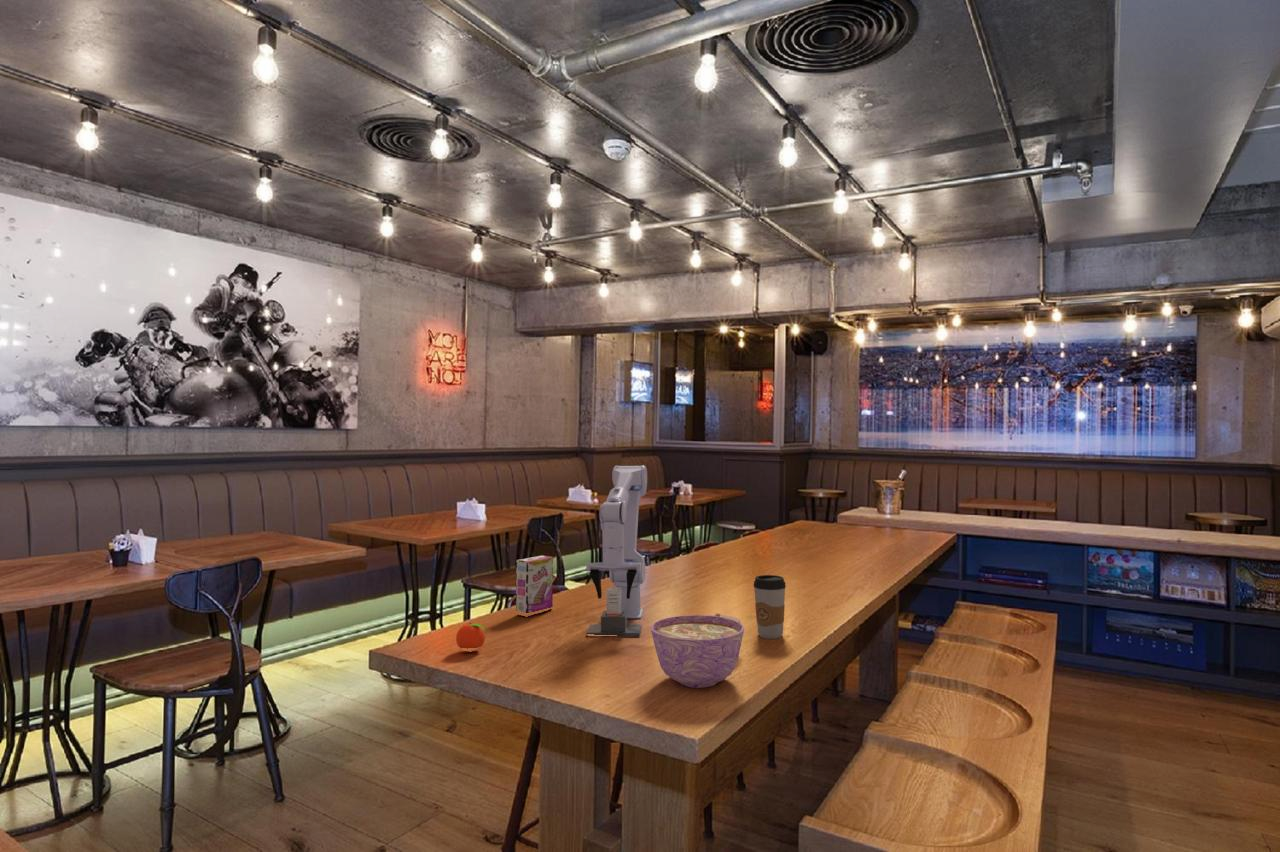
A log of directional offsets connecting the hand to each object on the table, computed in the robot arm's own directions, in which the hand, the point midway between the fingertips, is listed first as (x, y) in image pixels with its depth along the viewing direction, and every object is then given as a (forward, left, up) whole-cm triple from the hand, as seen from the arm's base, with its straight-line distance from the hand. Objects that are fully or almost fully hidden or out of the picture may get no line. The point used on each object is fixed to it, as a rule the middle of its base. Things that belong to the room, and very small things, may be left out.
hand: (614, 597), depth 189 cm
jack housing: (0, 0, -9) cm, 9 cm away
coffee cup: (+2, +41, -9) cm, 42 cm away
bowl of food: (+37, +22, -9) cm, 44 cm away
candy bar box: (-21, -26, -9) cm, 35 cm away
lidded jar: (+17, +27, -9) cm, 33 cm away
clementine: (+18, -33, -9) cm, 39 cm away
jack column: (0, 0, -6) cm, 6 cm away
